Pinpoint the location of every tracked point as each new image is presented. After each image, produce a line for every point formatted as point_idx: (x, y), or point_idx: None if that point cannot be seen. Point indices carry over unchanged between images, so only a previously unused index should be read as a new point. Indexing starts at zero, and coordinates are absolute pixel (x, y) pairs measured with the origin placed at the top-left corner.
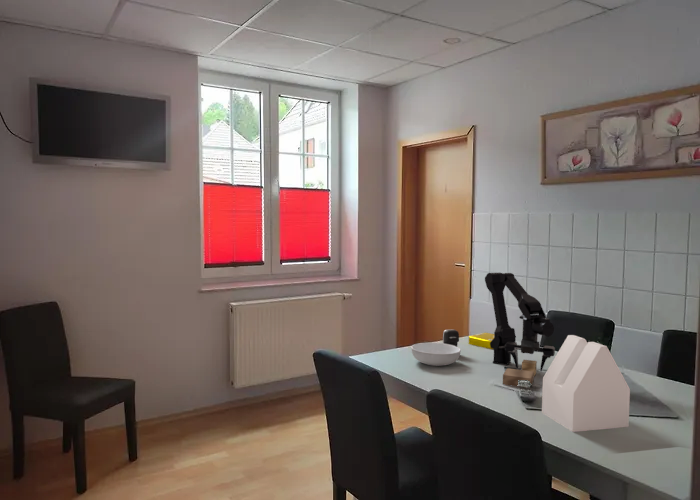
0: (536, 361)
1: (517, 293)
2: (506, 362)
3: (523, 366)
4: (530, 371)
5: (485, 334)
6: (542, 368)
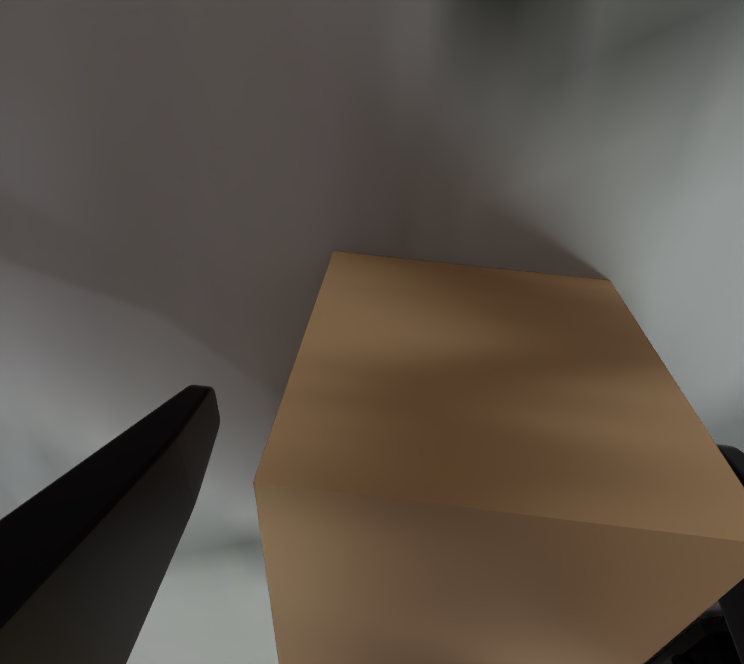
0: (279, 652)
1: None
2: (717, 653)
3: (647, 413)
4: None
5: None
6: (131, 429)
